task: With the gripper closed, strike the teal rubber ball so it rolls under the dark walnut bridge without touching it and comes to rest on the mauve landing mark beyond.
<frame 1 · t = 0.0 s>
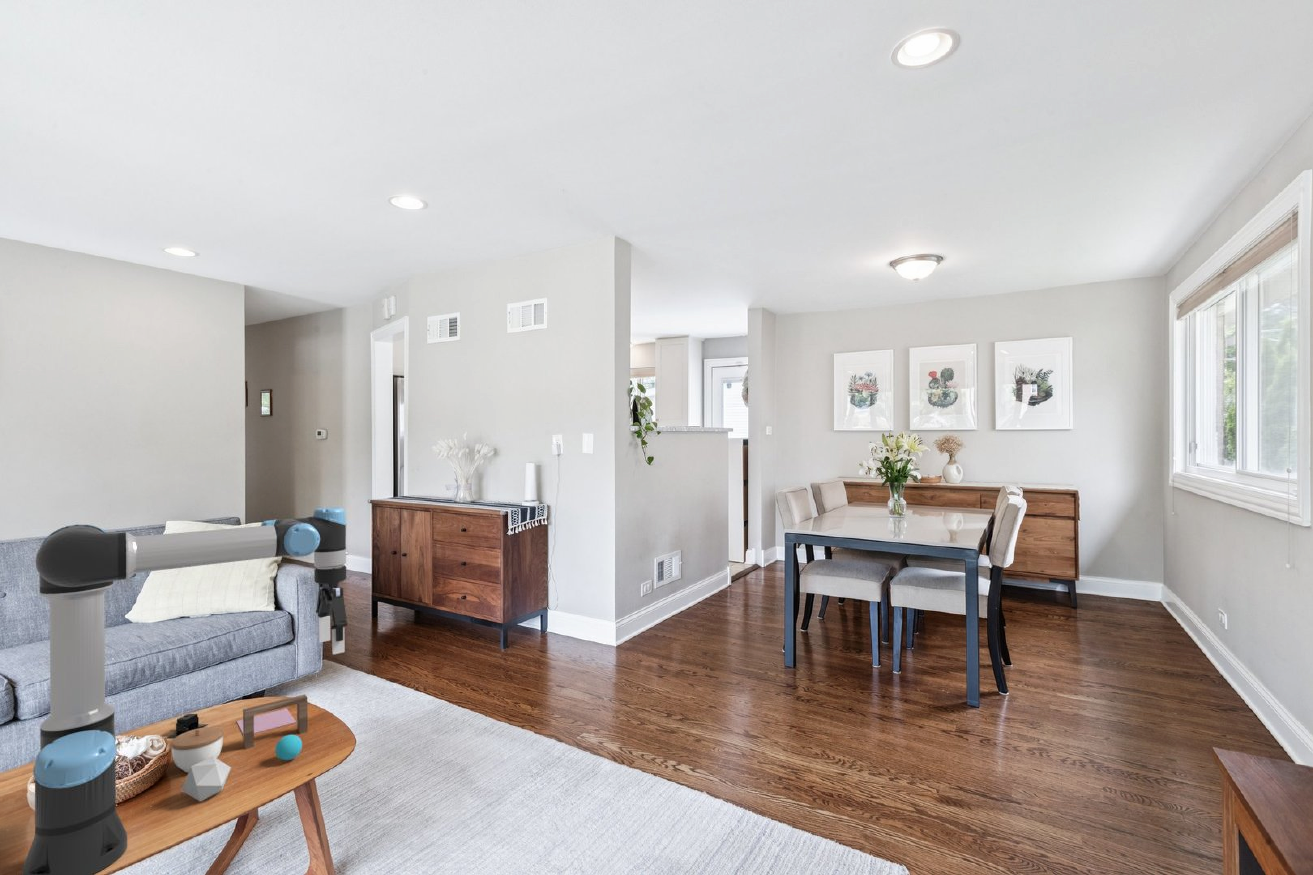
hand: (331, 646, 166), 28 cm above the table, tool pointing down, fingers open, 13 cm apart
landing mark: (266, 721, 185), on the table
bridge: (276, 738, 175), on the table
black block on base: (187, 734, 180), on the table
lidded jar: (198, 767, 160), on the table
ball: (288, 747, 163), on the table
die: (206, 795, 146), on the table
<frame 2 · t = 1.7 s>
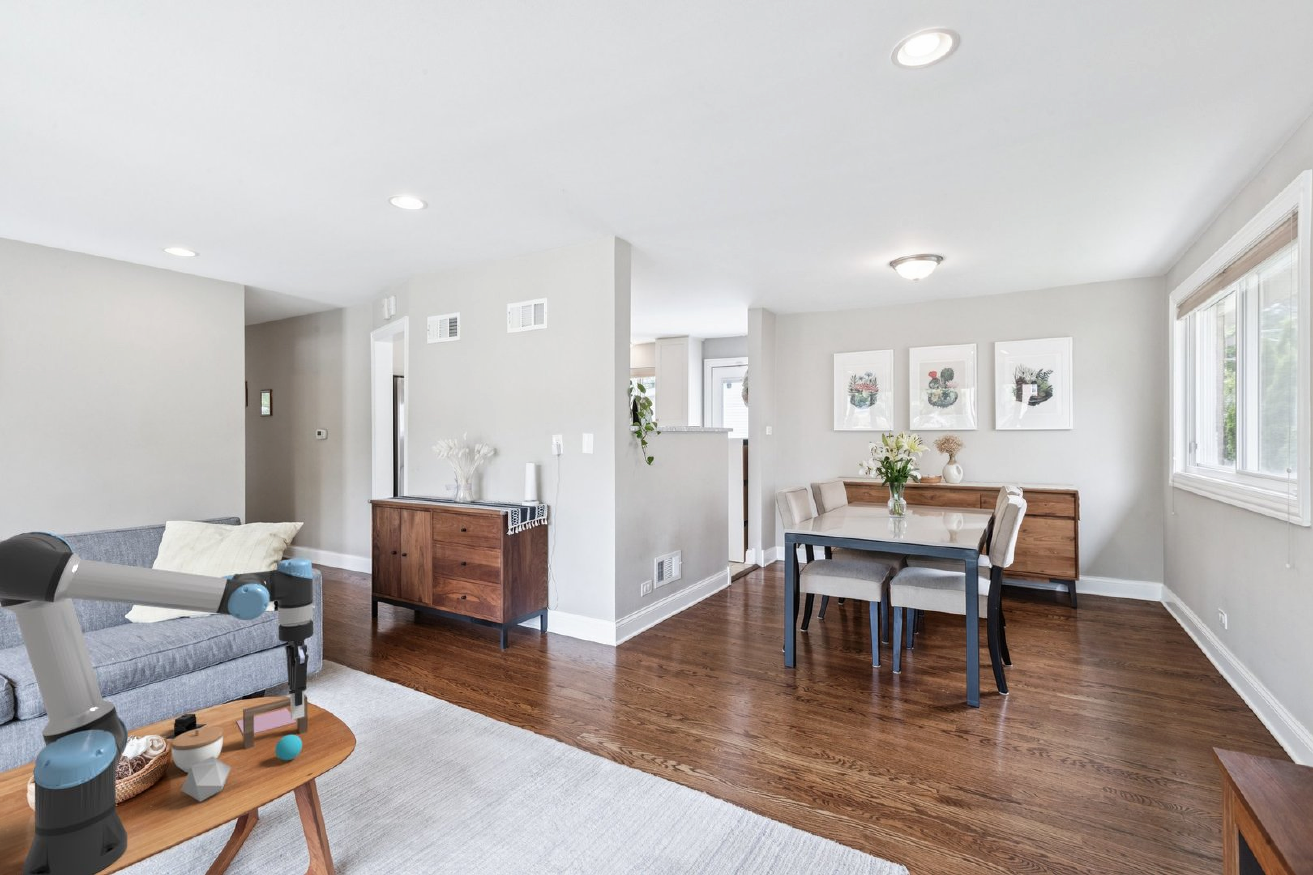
hand: (297, 716, 156), 14 cm above the table, tool pointing down, fingers closed
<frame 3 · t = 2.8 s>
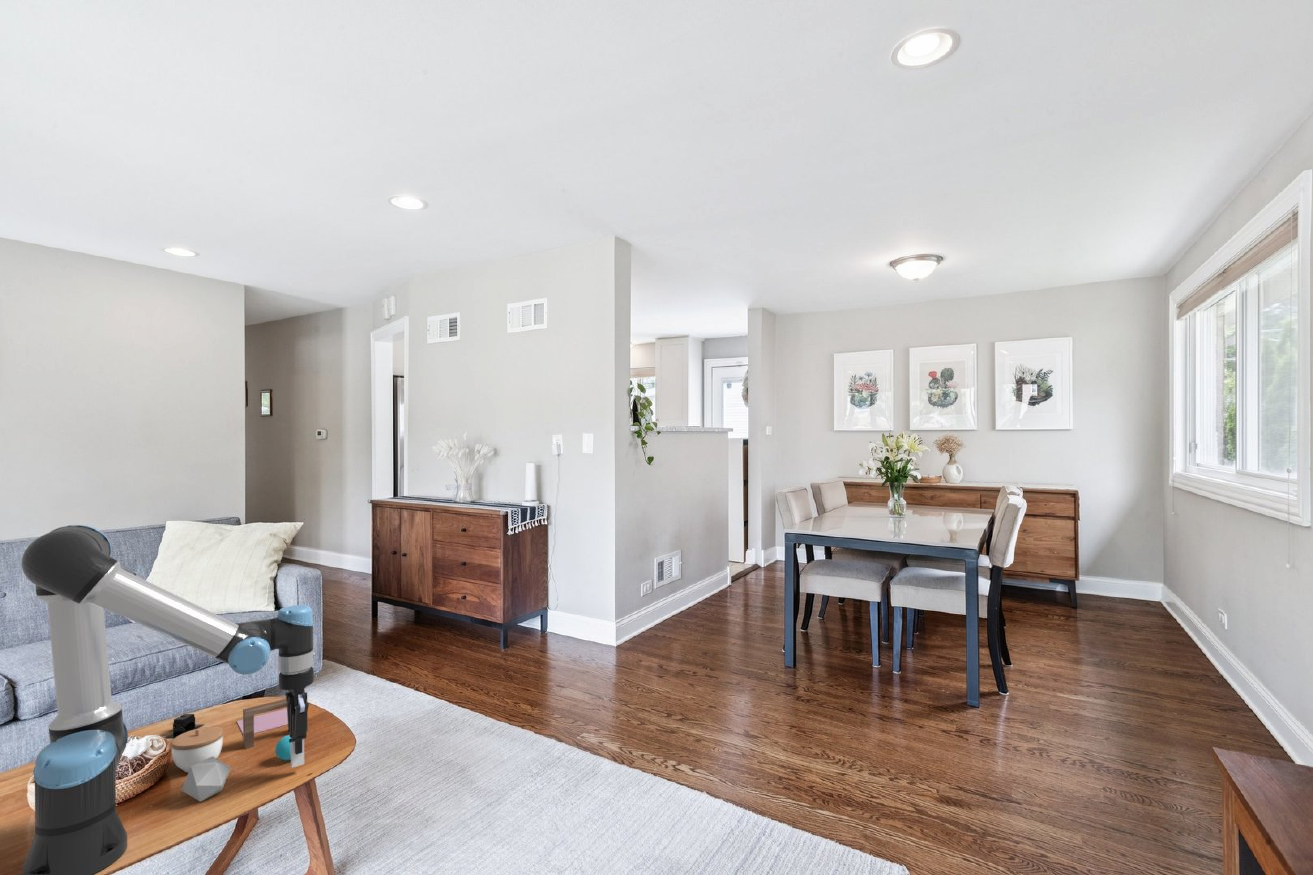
hand: (297, 764, 156), 2 cm above the table, tool pointing down, fingers closed
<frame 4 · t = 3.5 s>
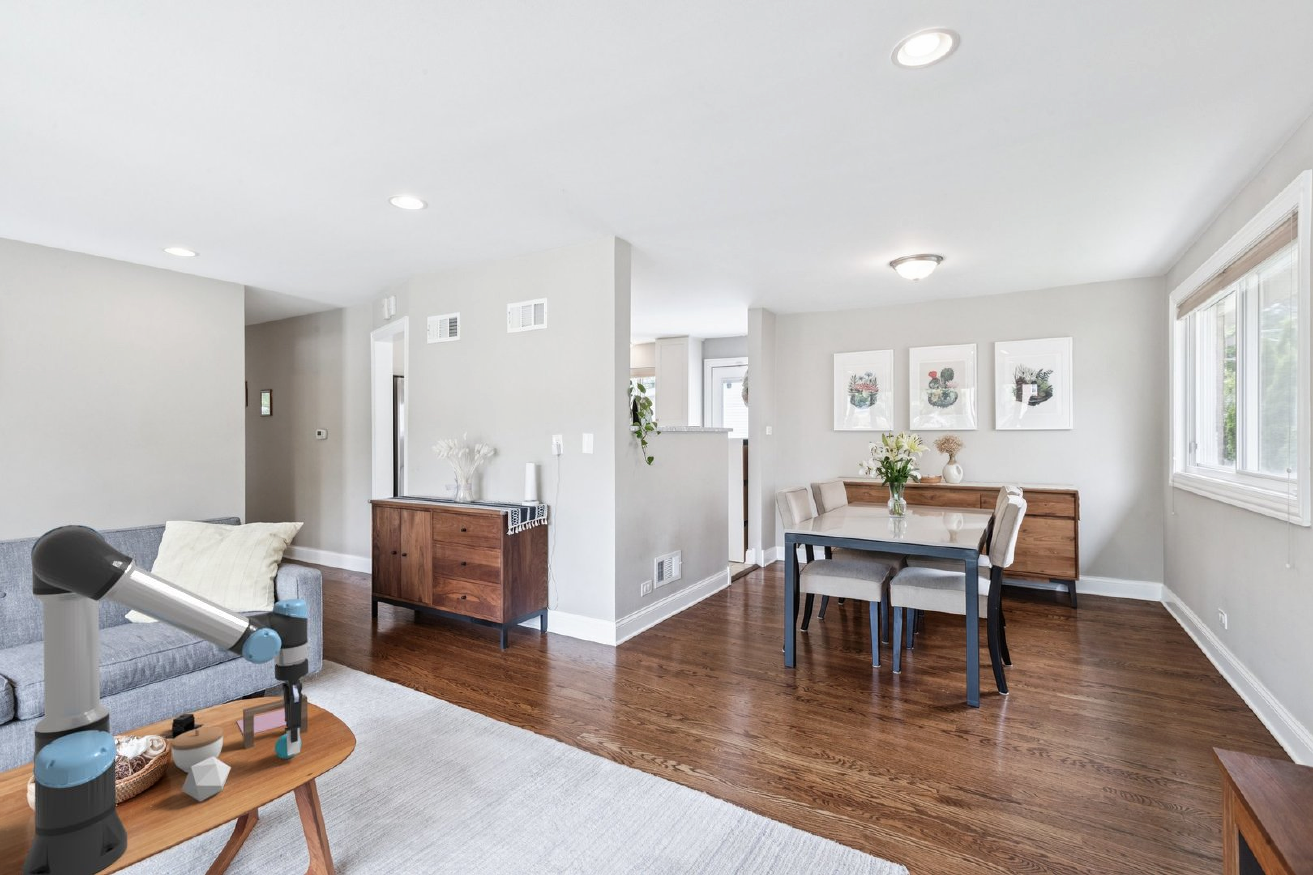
hand: (293, 752, 161), 2 cm above the table, tool pointing down, fingers closed
ball: (288, 745, 164), on the table, touching gripper
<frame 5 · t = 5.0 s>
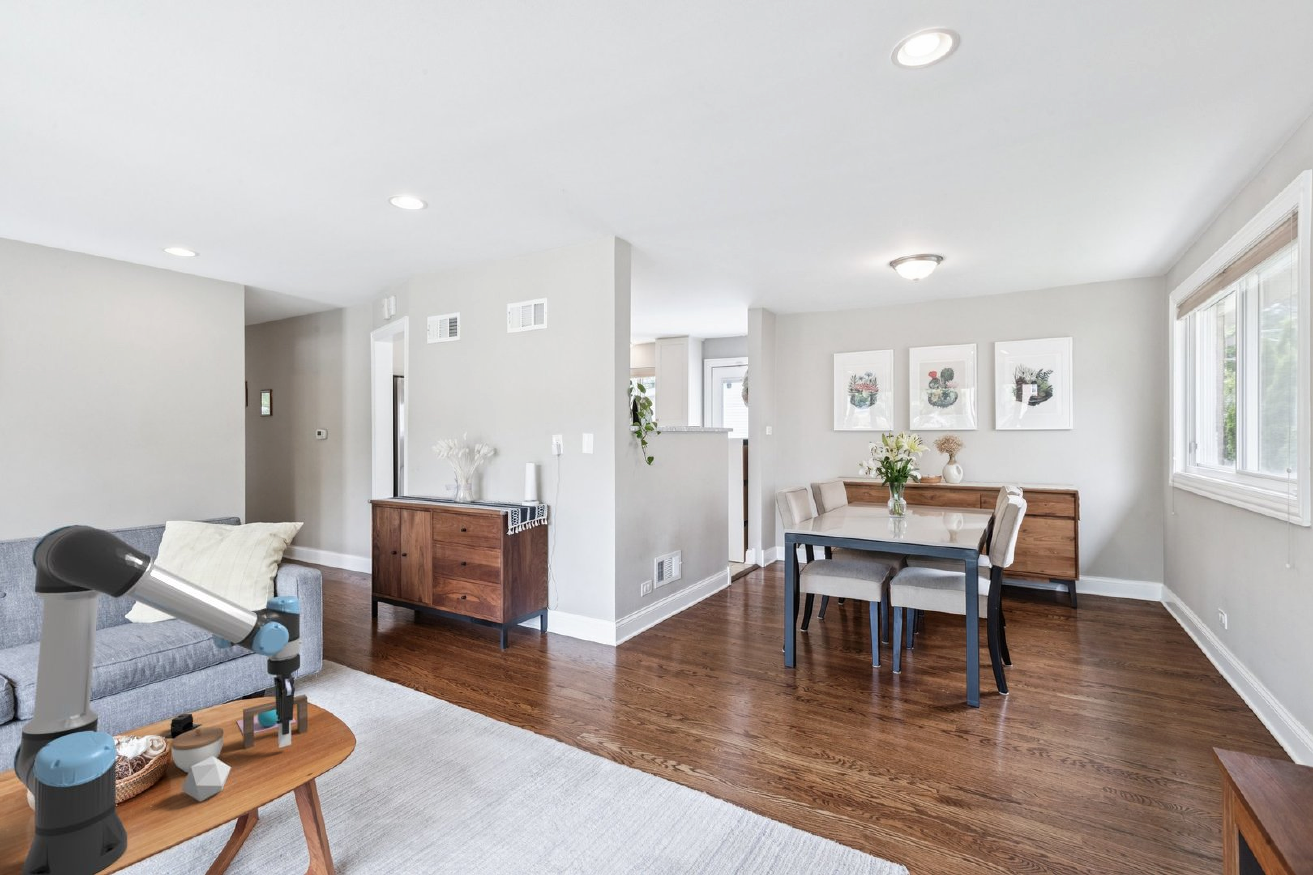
hand: (284, 744, 167), 2 cm above the table, tool pointing down, fingers closed
ball: (269, 715, 183), on the table
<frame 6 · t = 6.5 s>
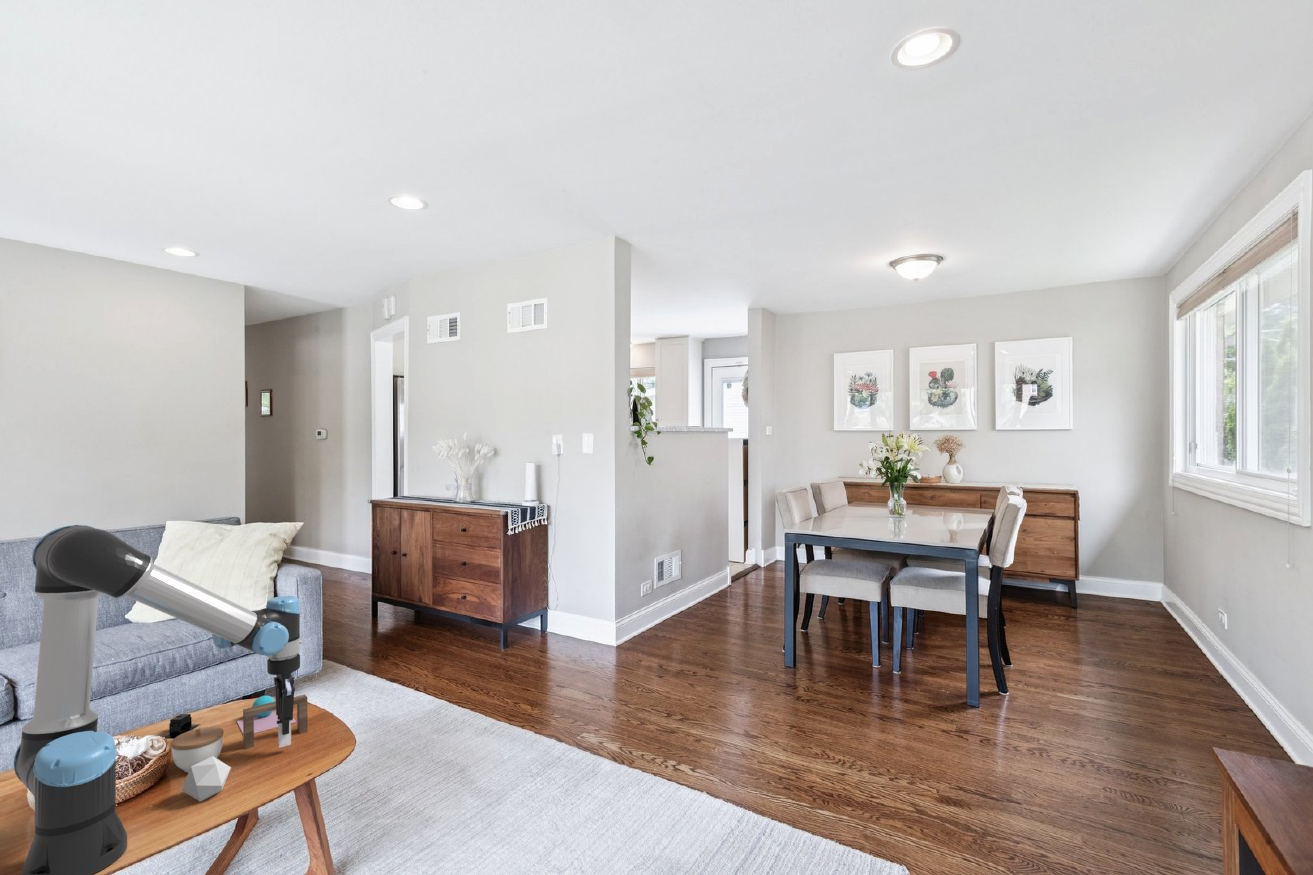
hand: (284, 744, 167), 2 cm above the table, tool pointing down, fingers closed
ball: (263, 706, 189), on the table
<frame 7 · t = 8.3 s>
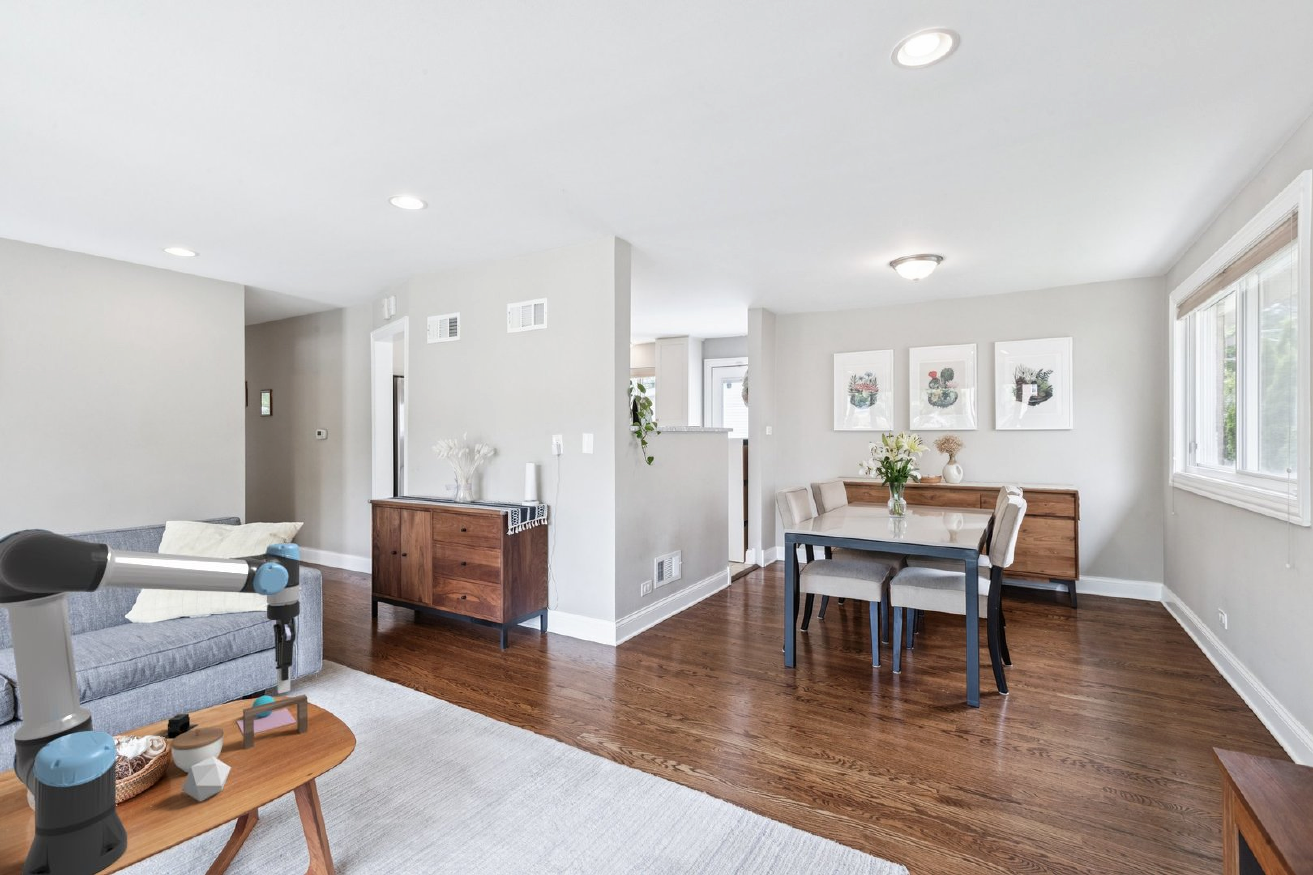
hand: (283, 691, 167), 16 cm above the table, tool pointing down, fingers closed
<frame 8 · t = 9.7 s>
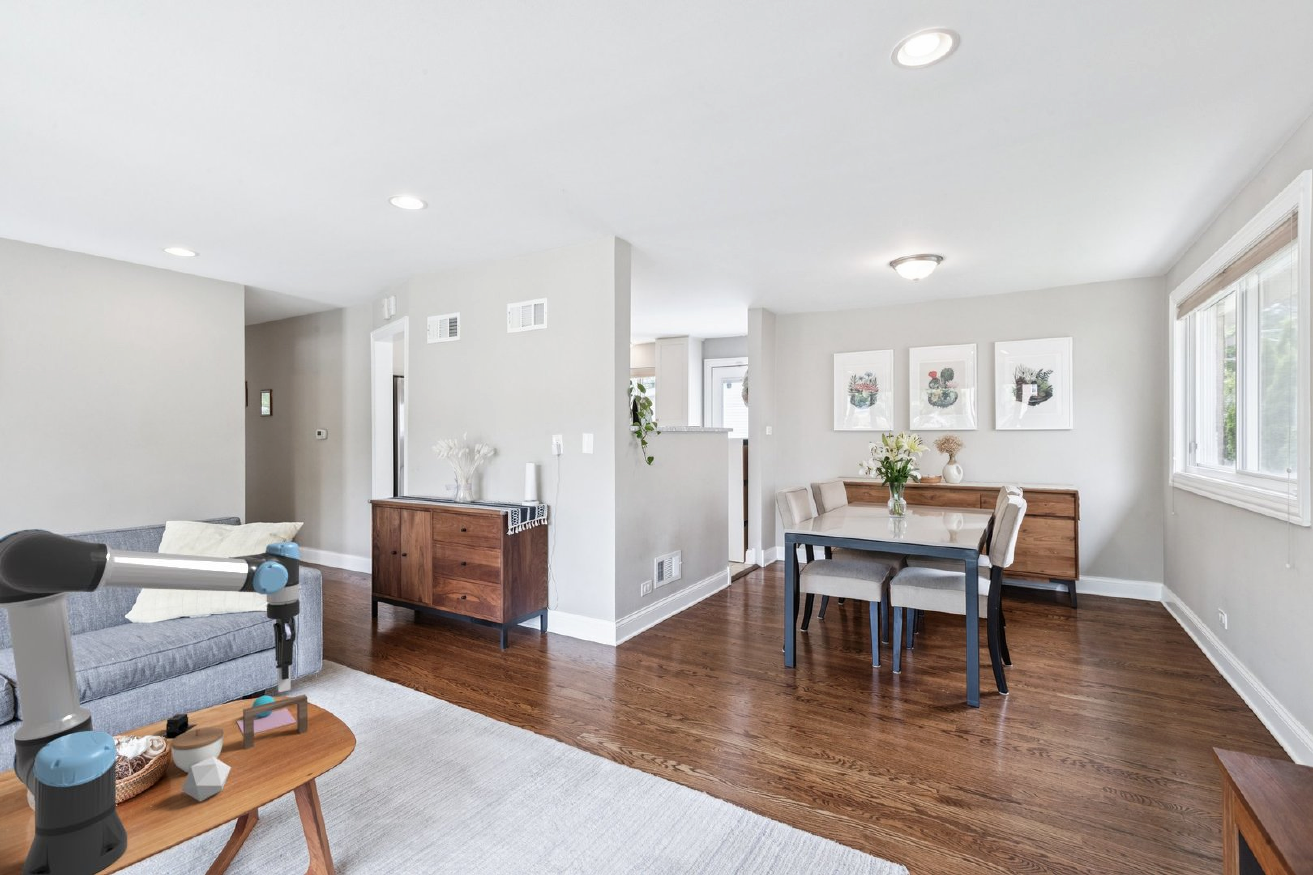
hand: (284, 690, 167), 16 cm above the table, tool pointing down, fingers closed
at the end: ball 5.3 cm from the landing mark (horizontally); ball never touched bridge; ball at rest at the end (0.0 cm/s) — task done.
